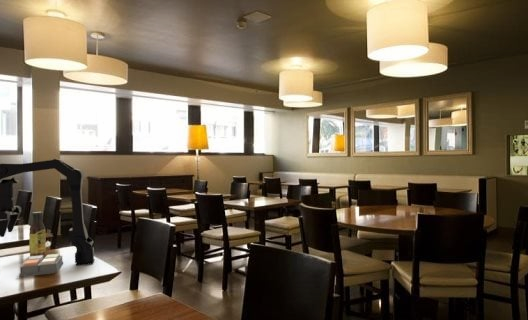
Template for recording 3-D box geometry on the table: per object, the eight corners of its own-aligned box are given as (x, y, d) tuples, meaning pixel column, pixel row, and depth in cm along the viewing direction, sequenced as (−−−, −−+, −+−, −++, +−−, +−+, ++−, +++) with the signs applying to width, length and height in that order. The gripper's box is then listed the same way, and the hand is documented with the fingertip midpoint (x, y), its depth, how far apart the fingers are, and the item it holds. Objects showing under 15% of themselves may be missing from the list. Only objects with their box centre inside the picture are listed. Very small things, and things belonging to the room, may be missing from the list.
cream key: (56, 262, 147) (56, 257, 147) (54, 265, 143) (54, 260, 143) (44, 263, 146) (44, 258, 146) (41, 266, 142) (41, 261, 142)
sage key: (59, 258, 153) (59, 253, 153) (57, 261, 149) (57, 256, 149) (47, 259, 152) (47, 254, 152) (45, 262, 148) (45, 257, 148)
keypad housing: (63, 263, 155) (63, 255, 154) (57, 272, 143) (56, 263, 143) (28, 267, 150) (28, 258, 150) (19, 276, 139) (19, 267, 139)
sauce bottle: (40, 257, 164) (39, 213, 163) (26, 258, 164) (25, 213, 163) (49, 253, 170) (48, 211, 170) (35, 253, 170) (34, 211, 170)
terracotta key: (39, 264, 146) (39, 259, 145) (36, 267, 141) (36, 262, 141) (26, 265, 144) (26, 260, 144) (23, 268, 140) (23, 263, 140)
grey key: (43, 260, 151) (43, 255, 151) (40, 263, 147) (40, 258, 147) (31, 261, 150) (30, 256, 150) (27, 264, 146) (27, 259, 146)
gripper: (-11, 193, 152) (-9, 231, 152) (-30, 198, 134) (-29, 241, 134) (21, 192, 155) (22, 229, 156) (6, 197, 138) (7, 238, 138)
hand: (6, 234), depth 146 cm, fingers open, 9 cm apart
